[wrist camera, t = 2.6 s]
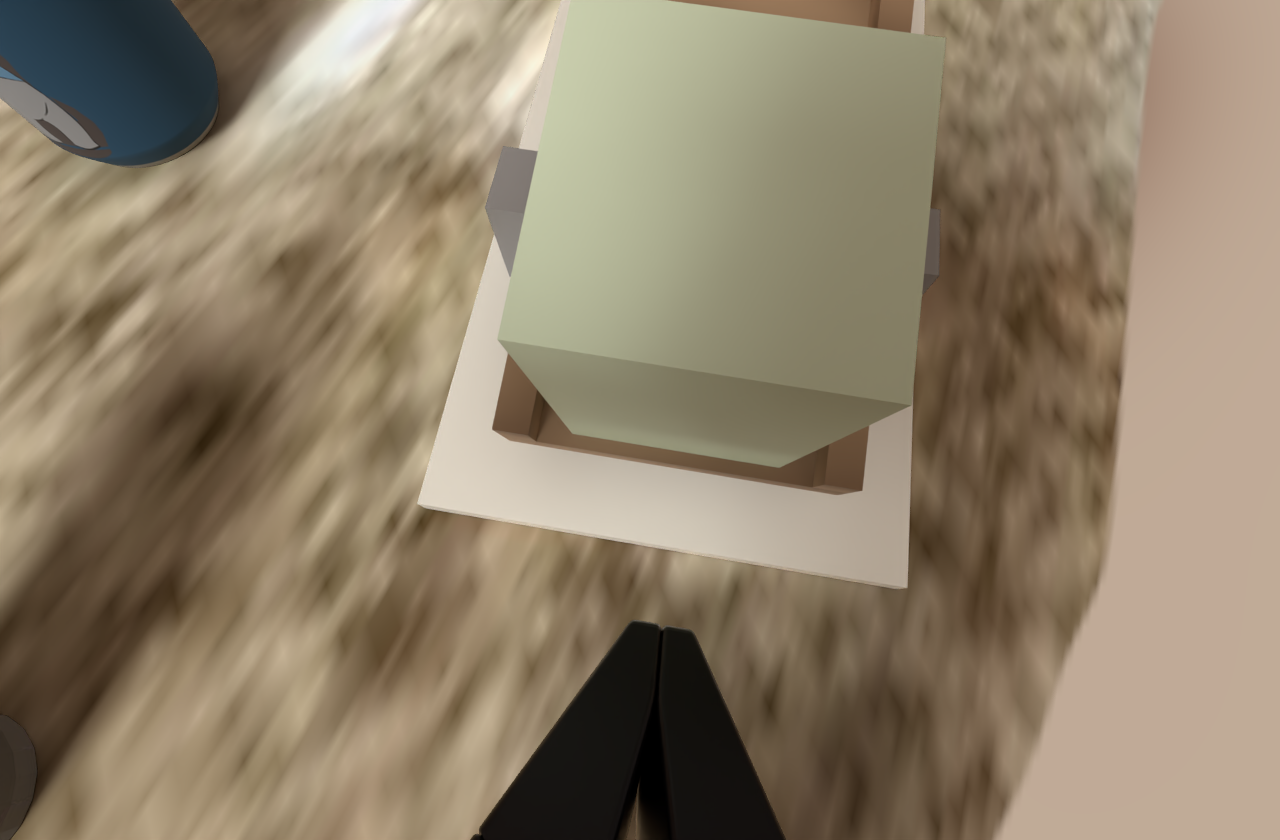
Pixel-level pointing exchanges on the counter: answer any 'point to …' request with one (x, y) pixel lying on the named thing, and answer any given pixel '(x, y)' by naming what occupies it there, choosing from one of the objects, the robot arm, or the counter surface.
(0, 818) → the beverage cup
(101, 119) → the soda can
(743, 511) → the stand
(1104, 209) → the counter surface
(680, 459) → the beam
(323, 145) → the counter surface
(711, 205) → the pale green block
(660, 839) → the robot arm
